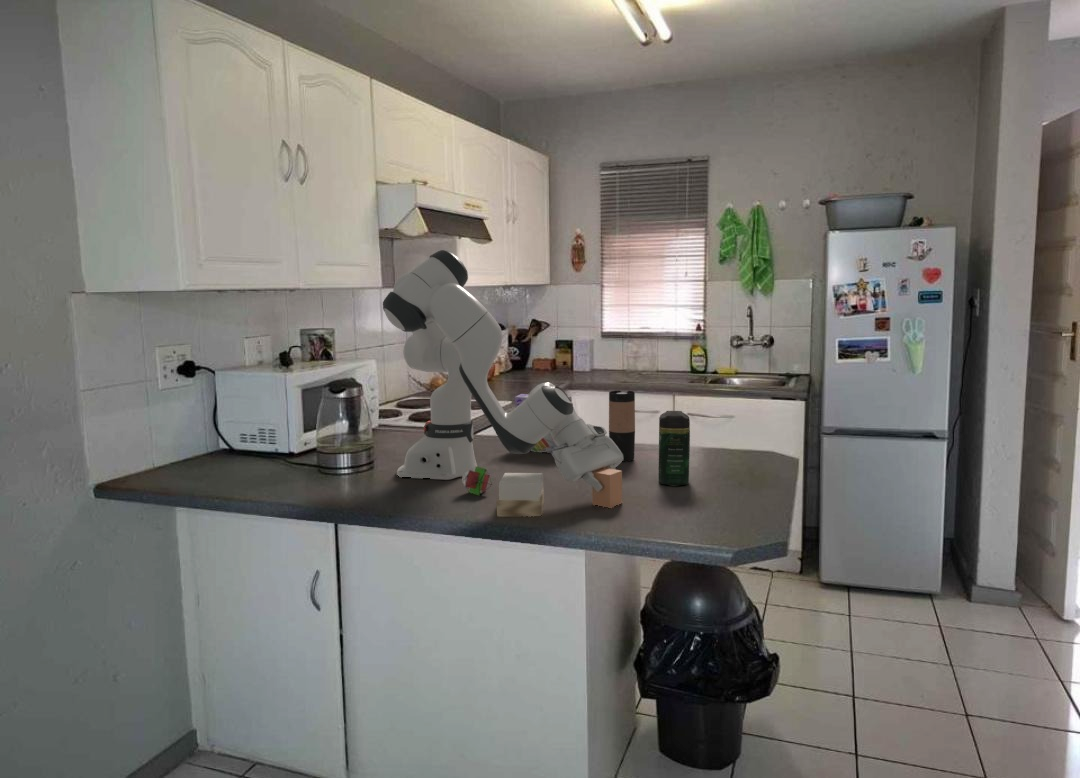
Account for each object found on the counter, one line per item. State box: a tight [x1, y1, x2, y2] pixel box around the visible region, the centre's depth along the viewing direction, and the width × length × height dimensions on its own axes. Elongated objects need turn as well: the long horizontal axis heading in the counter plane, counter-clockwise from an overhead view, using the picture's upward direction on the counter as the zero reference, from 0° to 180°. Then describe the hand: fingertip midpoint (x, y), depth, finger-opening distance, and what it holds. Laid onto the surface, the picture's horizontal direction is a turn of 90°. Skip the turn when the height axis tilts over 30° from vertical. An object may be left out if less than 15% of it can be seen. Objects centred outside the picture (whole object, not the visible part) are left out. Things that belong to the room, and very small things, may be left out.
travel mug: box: [608, 390, 636, 462], centre depth 223 cm, size 8×8×20 cm
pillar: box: [591, 468, 623, 509], centre depth 178 cm, size 5×5×8 cm
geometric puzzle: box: [461, 466, 493, 497], centre depth 190 cm, size 7×7×8 cm
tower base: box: [496, 488, 545, 518], centre depth 176 cm, size 10×10×4 cm
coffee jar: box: [658, 410, 691, 487], centre depth 197 cm, size 10×8×19 cm
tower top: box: [498, 472, 544, 501], centre depth 175 cm, size 9×9×4 cm
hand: (609, 486), depth 178 cm, fingers closed on pillar, 5 cm apart
